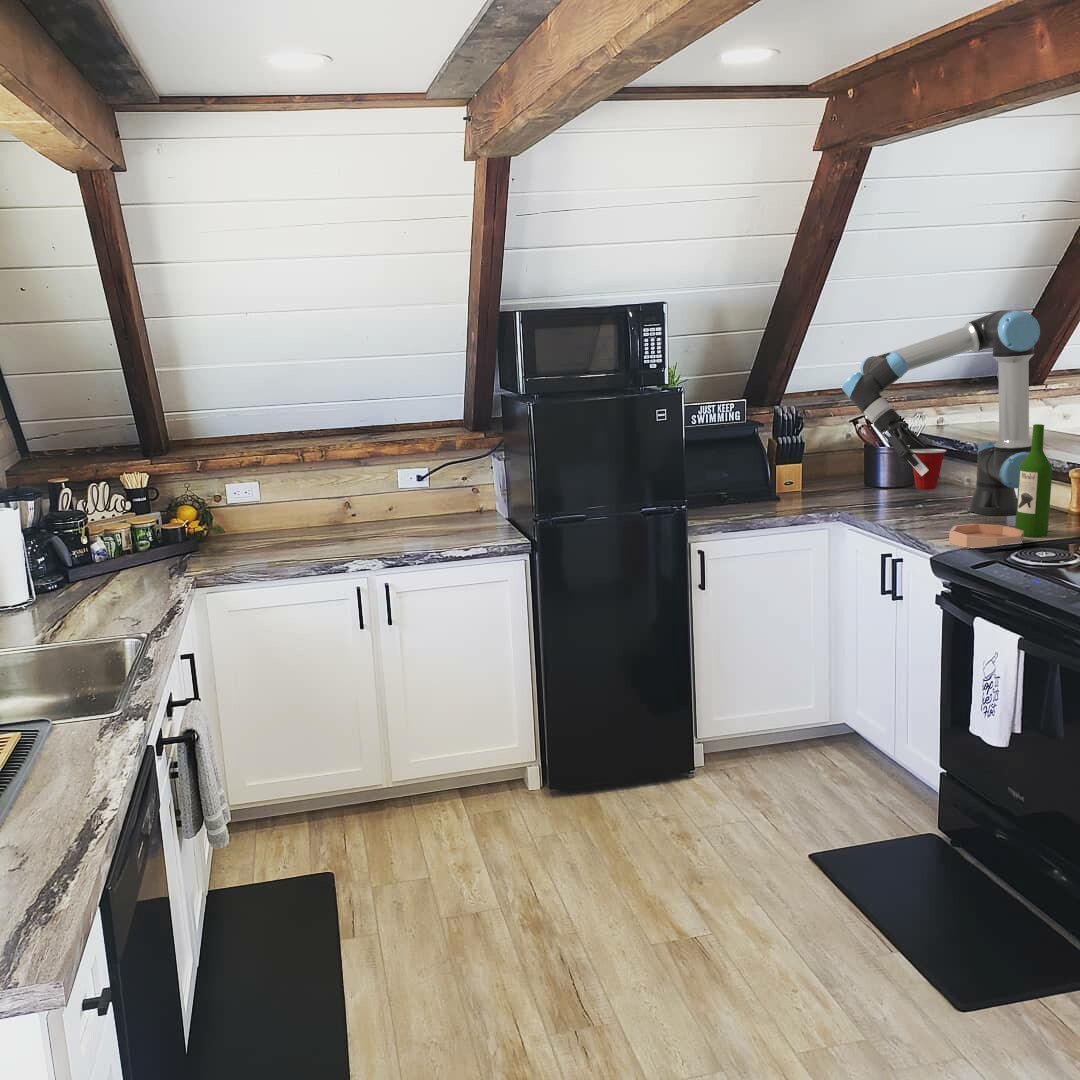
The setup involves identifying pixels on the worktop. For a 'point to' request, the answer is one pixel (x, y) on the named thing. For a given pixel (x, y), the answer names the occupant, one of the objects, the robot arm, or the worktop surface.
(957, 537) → the terracotta bowl
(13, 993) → the worktop surface
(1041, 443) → the wine bottle
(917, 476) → the plastic cup
